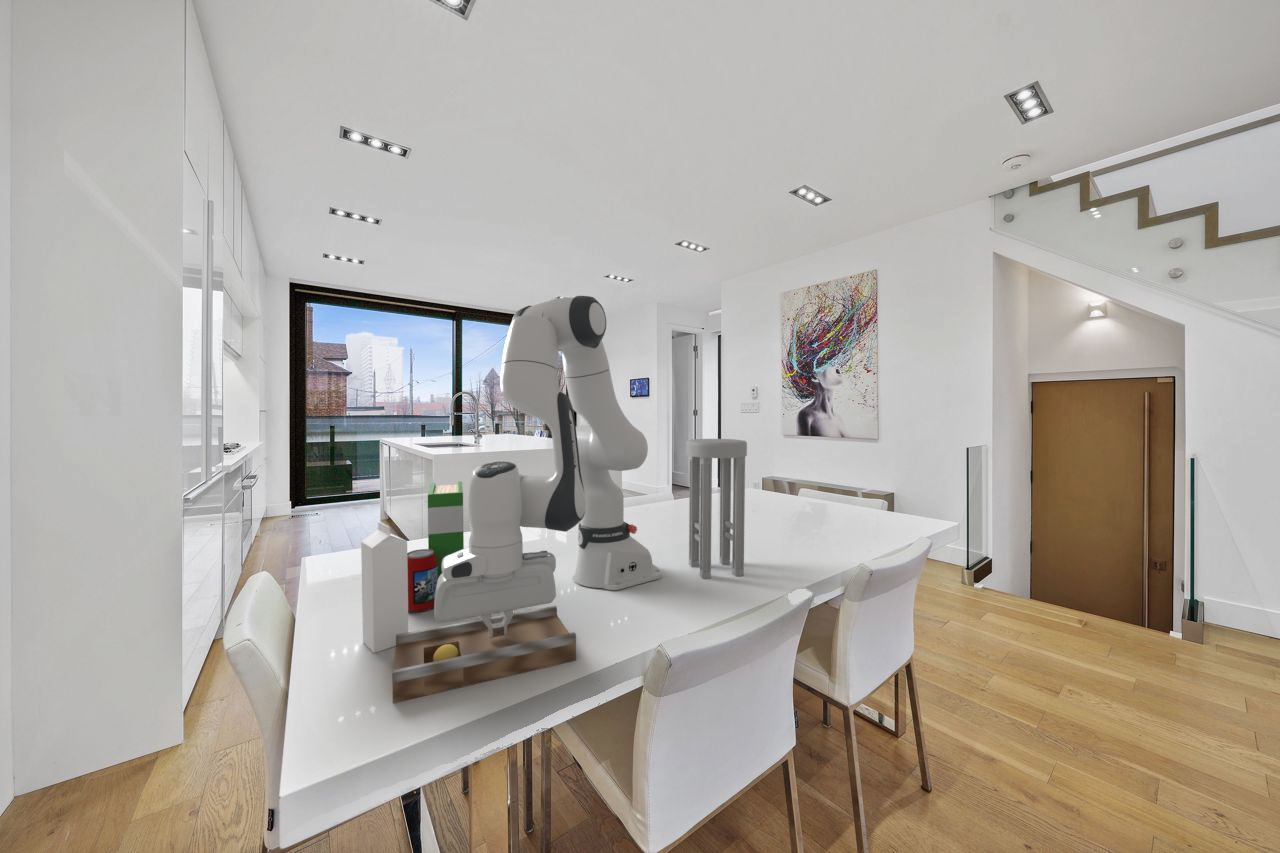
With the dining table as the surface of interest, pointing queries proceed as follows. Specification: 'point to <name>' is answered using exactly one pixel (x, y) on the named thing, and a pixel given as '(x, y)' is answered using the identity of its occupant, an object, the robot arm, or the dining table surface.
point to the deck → (479, 652)
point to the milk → (384, 588)
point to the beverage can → (421, 579)
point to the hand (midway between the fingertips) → (497, 635)
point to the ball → (445, 652)
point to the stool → (703, 502)
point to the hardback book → (445, 521)
